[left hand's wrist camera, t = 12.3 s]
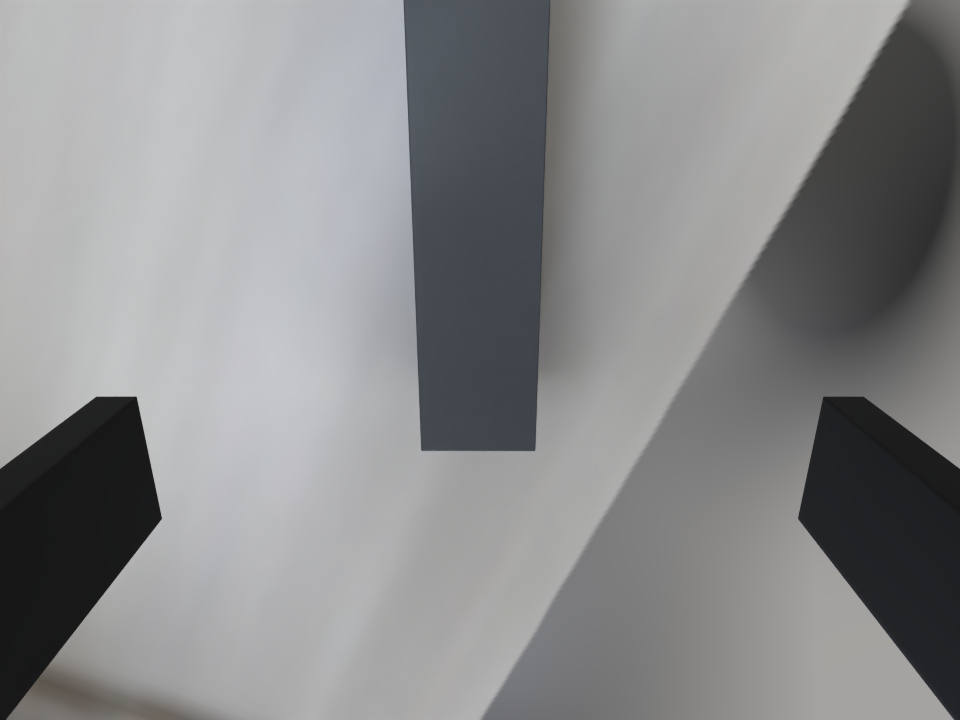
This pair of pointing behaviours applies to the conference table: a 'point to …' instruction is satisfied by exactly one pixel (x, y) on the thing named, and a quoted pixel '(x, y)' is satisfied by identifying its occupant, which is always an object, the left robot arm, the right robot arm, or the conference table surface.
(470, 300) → the beam
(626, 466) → the conference table surface
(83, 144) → the conference table surface
